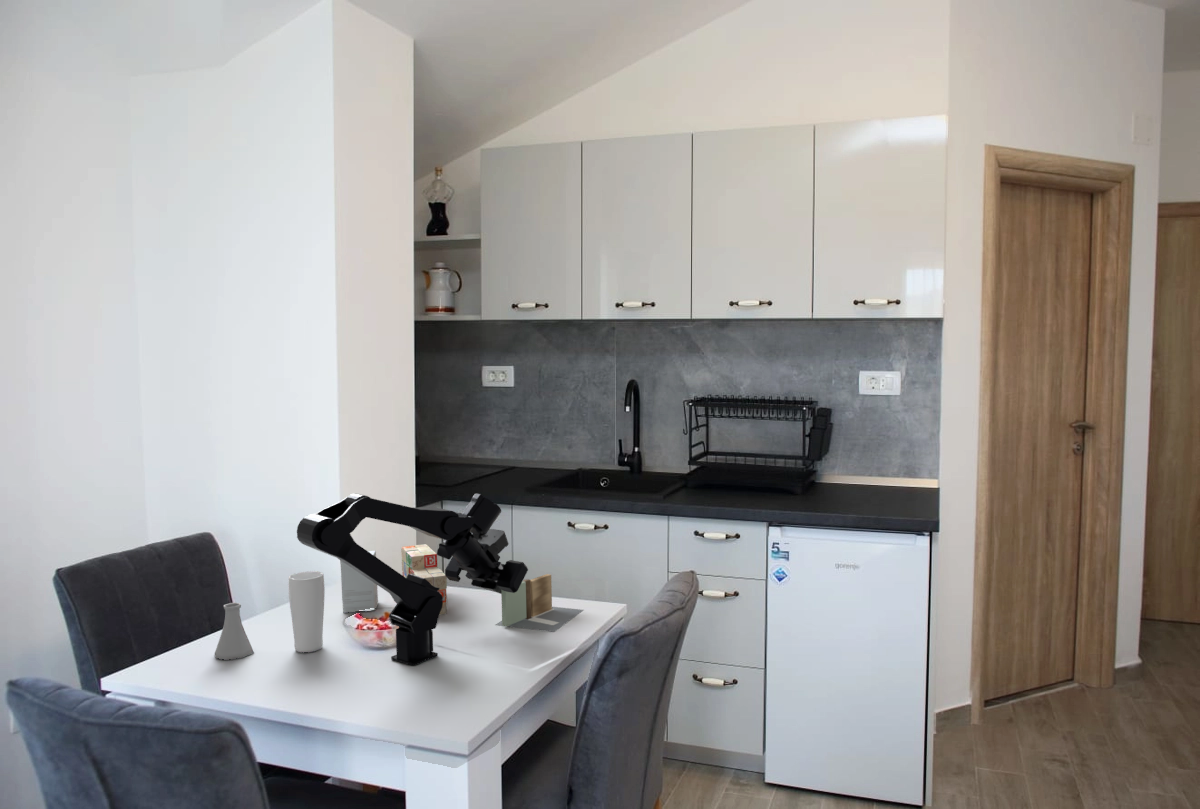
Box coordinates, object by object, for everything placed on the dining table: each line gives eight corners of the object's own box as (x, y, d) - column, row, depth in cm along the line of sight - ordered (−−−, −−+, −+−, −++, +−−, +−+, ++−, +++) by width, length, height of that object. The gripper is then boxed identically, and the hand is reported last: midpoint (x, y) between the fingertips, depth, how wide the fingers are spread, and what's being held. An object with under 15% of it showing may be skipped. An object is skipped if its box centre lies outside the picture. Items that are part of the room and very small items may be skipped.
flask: (208, 655, 167) (205, 605, 166) (244, 645, 172) (242, 597, 172) (223, 664, 162) (221, 612, 162) (260, 653, 167) (258, 604, 167)
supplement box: (378, 602, 201) (377, 550, 201) (374, 611, 194) (373, 557, 193) (346, 604, 200) (345, 551, 200) (341, 613, 193) (339, 558, 192)
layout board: (554, 633, 176) (554, 631, 176) (494, 626, 181) (494, 624, 181) (583, 611, 191) (583, 609, 191) (528, 605, 196) (528, 603, 196)
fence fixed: (528, 619, 185) (527, 581, 184) (522, 618, 186) (521, 580, 185) (552, 609, 192) (551, 573, 191) (547, 608, 193) (546, 572, 192)
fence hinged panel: (522, 617, 185) (521, 581, 185) (526, 618, 185) (525, 581, 184) (502, 625, 180) (501, 588, 179) (506, 626, 179) (505, 589, 179)
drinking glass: (298, 657, 165) (295, 581, 164) (285, 648, 170) (282, 575, 169) (332, 649, 169) (329, 575, 168) (318, 640, 174) (315, 569, 173)
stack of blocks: (447, 616, 190) (446, 561, 190) (419, 619, 188) (418, 565, 187) (427, 592, 210) (426, 543, 209) (402, 595, 207) (400, 545, 207)
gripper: (521, 524, 171) (554, 566, 181) (453, 514, 181) (487, 554, 191) (497, 571, 165) (532, 612, 175) (427, 558, 175) (464, 597, 185)
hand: (503, 592), depth 182 cm, fingers closed
